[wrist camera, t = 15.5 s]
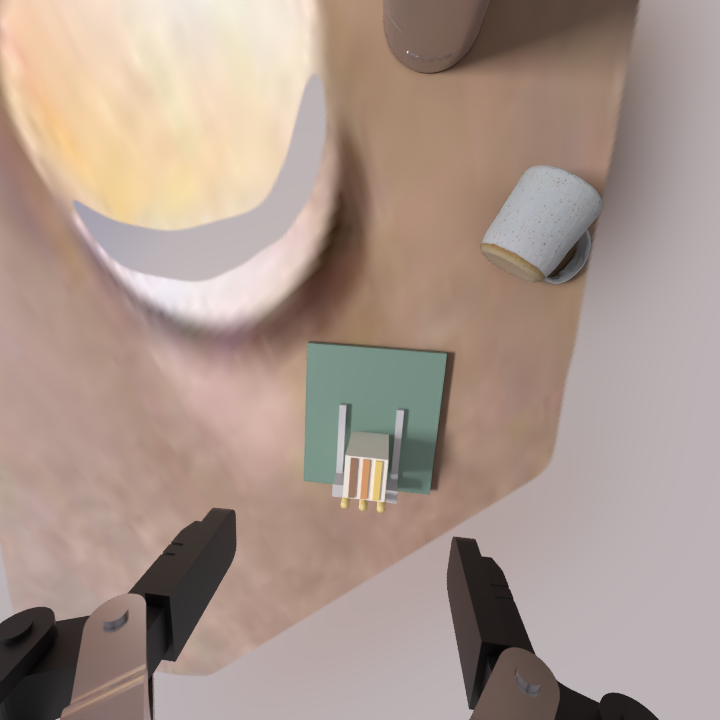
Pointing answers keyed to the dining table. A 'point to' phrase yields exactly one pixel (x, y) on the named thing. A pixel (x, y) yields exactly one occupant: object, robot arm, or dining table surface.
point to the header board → (372, 412)
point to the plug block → (366, 466)
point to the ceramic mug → (543, 225)
